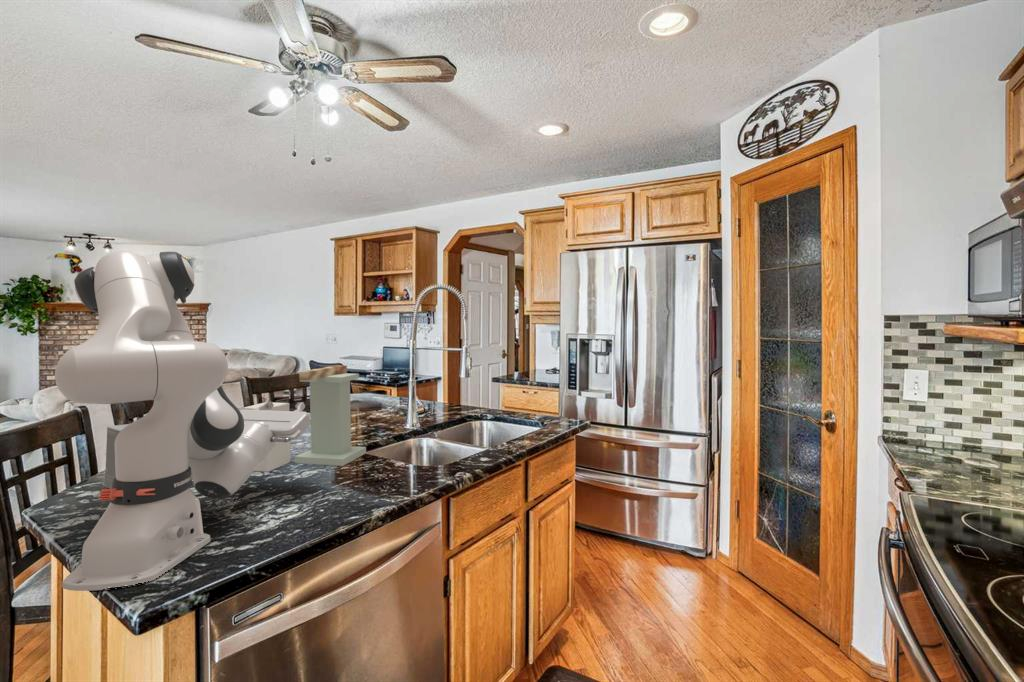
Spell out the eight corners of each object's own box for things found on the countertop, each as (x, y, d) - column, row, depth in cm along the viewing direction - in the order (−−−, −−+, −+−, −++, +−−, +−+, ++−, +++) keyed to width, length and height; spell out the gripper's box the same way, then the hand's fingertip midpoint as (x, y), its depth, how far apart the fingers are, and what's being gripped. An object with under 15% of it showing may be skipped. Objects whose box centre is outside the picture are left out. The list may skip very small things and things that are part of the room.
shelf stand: (343, 465, 142) (341, 378, 141) (294, 463, 145) (292, 377, 144) (366, 453, 156) (364, 373, 155) (321, 450, 159) (319, 372, 158)
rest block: (268, 471, 137) (266, 408, 136) (243, 470, 138) (241, 408, 137) (290, 461, 146) (289, 402, 146) (267, 460, 148) (265, 402, 147)
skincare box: (104, 488, 124) (101, 427, 123) (136, 480, 130) (134, 421, 129) (120, 493, 120) (118, 430, 119) (153, 484, 126) (151, 424, 125)
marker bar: (309, 380, 136) (309, 372, 136) (296, 380, 136) (296, 371, 136) (346, 372, 155) (346, 365, 155) (335, 372, 156) (335, 365, 156)
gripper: (288, 432, 114) (317, 395, 125) (213, 428, 118) (248, 393, 129) (297, 451, 117) (325, 413, 129) (224, 447, 121) (257, 411, 132)
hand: (286, 403), depth 129 cm, fingers open, 8 cm apart
